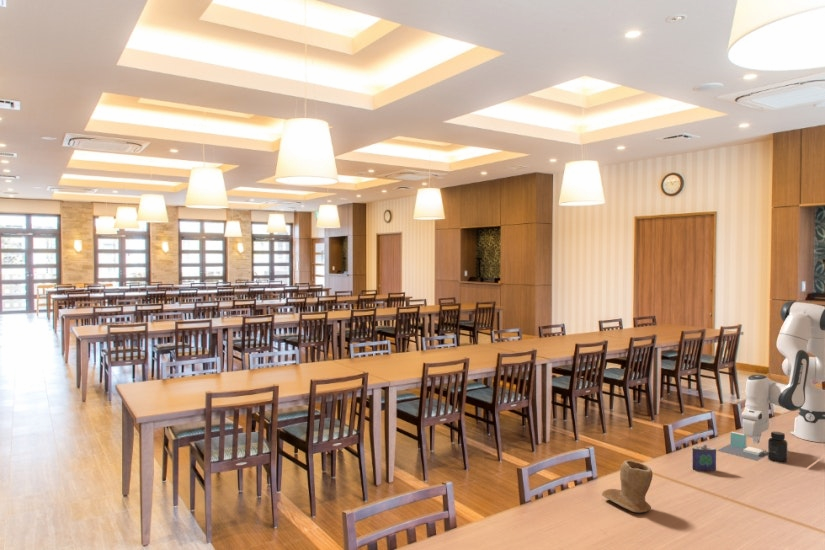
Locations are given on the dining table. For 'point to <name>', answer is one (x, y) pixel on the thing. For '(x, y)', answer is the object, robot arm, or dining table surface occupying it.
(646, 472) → the brown boot
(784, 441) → the supplement bottle
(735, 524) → the dining table surface
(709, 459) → the flask
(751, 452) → the tile
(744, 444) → the tile
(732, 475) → the dining table surface
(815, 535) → the dining table surface
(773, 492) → the dining table surface
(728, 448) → the mat
